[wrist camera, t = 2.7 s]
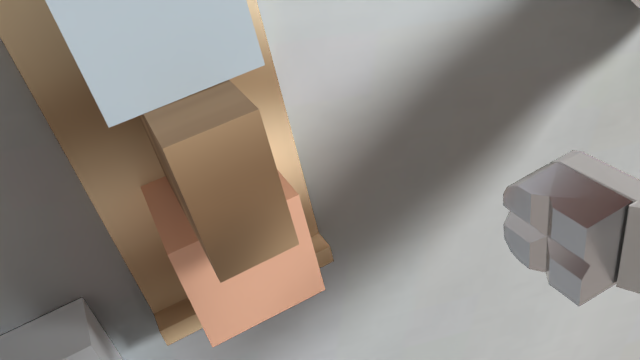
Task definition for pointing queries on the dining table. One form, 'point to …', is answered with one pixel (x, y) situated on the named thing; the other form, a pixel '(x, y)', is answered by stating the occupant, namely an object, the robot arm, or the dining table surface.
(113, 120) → the block
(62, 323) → the dock
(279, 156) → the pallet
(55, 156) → the dining table surface
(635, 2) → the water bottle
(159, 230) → the block
